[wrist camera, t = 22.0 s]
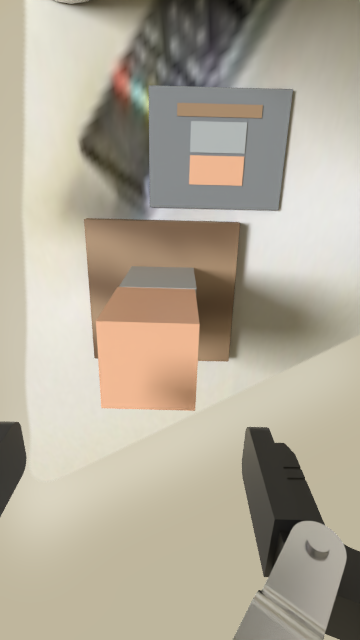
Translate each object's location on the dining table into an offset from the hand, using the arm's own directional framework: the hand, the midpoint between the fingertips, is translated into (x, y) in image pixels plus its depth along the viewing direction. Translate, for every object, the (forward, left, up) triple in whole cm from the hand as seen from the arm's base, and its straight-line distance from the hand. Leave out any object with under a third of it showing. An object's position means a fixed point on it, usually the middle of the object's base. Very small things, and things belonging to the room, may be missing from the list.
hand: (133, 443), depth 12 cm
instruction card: (-11, +4, -19) cm, 22 cm away
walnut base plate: (0, 0, -19) cm, 19 cm away
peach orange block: (0, 0, -12) cm, 12 cm away
